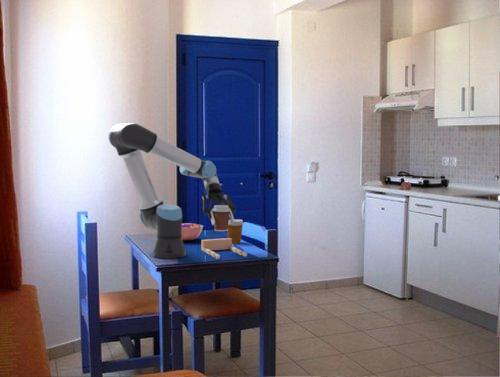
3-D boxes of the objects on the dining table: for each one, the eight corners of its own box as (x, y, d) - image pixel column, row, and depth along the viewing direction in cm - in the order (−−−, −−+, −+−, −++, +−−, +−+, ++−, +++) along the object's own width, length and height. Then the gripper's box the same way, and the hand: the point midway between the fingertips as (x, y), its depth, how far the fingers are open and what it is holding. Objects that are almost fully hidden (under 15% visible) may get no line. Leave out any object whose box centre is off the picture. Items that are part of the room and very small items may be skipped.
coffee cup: (211, 231, 281) (211, 206, 280) (212, 228, 290) (212, 204, 289) (230, 231, 281) (230, 206, 280) (230, 228, 290) (230, 204, 289)
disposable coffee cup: (225, 244, 306) (225, 221, 305) (225, 241, 316) (225, 219, 315) (243, 244, 307) (243, 221, 306) (243, 241, 316) (243, 219, 315)
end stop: (231, 248, 294) (231, 239, 294) (203, 250, 289) (203, 240, 288) (229, 247, 297) (229, 238, 297) (201, 249, 291) (201, 239, 291)
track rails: (246, 256, 276) (247, 253, 276) (216, 258, 270) (216, 255, 270) (231, 248, 294) (231, 245, 294) (203, 250, 289) (203, 247, 288)
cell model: (201, 243, 309) (201, 222, 308) (163, 243, 309) (163, 221, 308) (204, 238, 326) (204, 217, 325) (168, 237, 326) (168, 217, 325)
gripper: (231, 191, 303) (242, 226, 289) (190, 192, 294) (200, 228, 281) (235, 181, 297) (246, 217, 284) (193, 182, 289) (203, 219, 276)
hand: (223, 222), depth 283 cm, fingers closed on coffee cup, 9 cm apart
